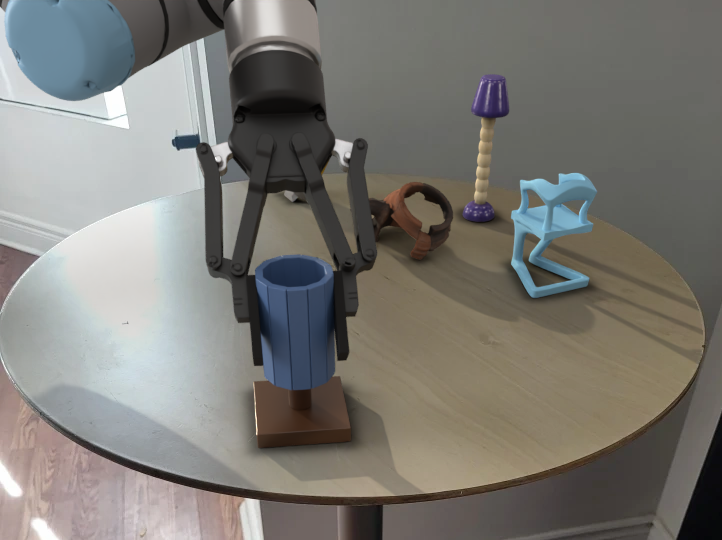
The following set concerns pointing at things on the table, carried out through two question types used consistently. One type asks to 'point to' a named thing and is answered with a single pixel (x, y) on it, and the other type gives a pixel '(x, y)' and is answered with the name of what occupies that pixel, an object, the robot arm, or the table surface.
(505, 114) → the toy lamp
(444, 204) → the brown looped strap
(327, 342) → the blue fluted tube
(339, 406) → the stand
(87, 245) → the table surface
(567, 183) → the chair
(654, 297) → the table surface
